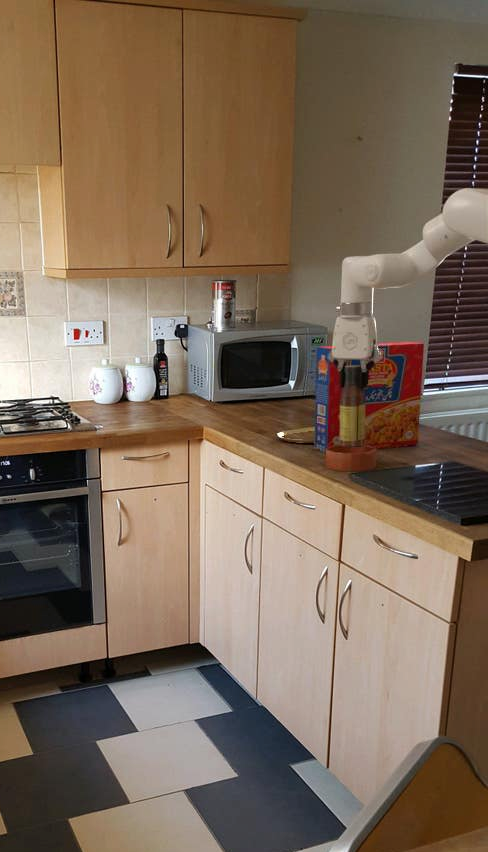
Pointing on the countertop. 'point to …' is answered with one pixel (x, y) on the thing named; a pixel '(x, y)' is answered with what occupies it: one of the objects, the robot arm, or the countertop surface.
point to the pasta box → (374, 397)
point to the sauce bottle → (352, 409)
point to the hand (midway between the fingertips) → (353, 386)
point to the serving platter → (296, 432)
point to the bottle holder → (350, 458)
